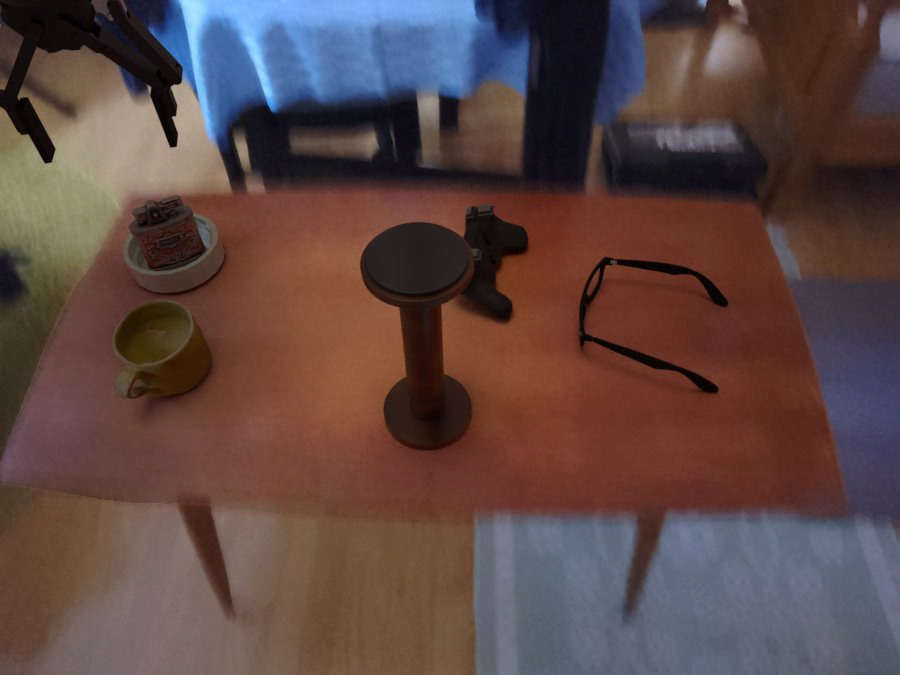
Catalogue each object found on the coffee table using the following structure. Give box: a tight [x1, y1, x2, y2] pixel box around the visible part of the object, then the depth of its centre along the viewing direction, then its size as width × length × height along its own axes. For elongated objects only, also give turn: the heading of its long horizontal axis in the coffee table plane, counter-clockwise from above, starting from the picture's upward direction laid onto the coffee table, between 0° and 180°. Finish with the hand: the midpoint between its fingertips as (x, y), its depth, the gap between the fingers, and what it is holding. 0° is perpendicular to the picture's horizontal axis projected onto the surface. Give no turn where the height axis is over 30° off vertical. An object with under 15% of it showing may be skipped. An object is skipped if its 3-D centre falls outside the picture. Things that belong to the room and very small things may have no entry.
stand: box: [359, 221, 474, 451], centre depth 69 cm, size 10×10×24 cm
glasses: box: [578, 256, 729, 394], centre depth 84 cm, size 17×18×5 cm
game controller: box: [459, 204, 529, 320], centre depth 90 cm, size 16×7×10 cm, turn 167°
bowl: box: [122, 212, 226, 294], centre depth 93 cm, size 12×12×4 cm
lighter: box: [128, 194, 207, 271], centre depth 90 cm, size 8×3×10 cm, turn 118°
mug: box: [111, 298, 212, 400], centre depth 79 cm, size 12×10×10 cm
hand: (113, 148), depth 78 cm, fingers open, 13 cm apart
